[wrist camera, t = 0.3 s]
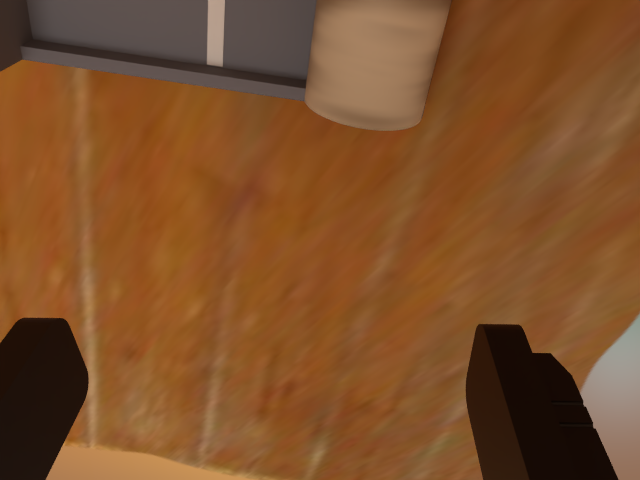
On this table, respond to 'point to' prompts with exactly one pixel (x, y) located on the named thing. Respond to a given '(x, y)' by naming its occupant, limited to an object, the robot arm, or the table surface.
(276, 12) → the runway
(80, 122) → the table surface
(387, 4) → the log roller
